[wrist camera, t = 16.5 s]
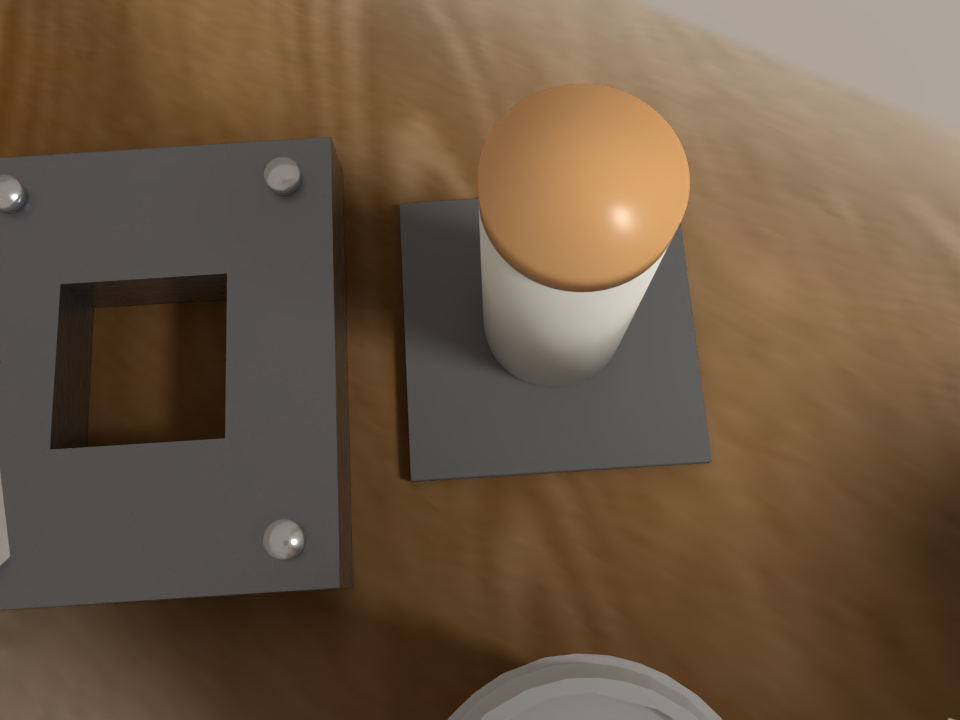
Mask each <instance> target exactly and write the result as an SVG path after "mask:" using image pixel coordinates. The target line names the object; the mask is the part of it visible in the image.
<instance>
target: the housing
mask: <svg viewBox="0 0 960 720" xmlns="http://www.w3.org/2000/svg"><path fill="white" fill-rule="evenodd" d="M225 299H227V328H226V405H225V438H223V439H207V440H192V441H176V442H160V443H145V444H129V445H114V446H98V447H87V428H88V409H89V391H90V372H91V354H92V335H93V317H94V308H100V307H116V306H132V305H147V304H163V303H179V302H194V301H210V300H225ZM0 474H1V483H2V491H3V500H4V508H5V517H6V525H7V534H8V542H9V551H10V557H9V558H8V559H7V560H6V561H5V562H4V563H3V564H2V565H1V566H0V611H2V610H18V609H34V608H49V607H65V606H80V605H96V604H112V603H127V602H143V601H158V600H174V599H190V598H205V597H221V596H236V595H252V594H268V593H283V592H299V591H314V590H330V589H346V588H353V576H352V534H351V492H350V450H349V408H348V366H347V324H346V282H345V240H344V198H343V170H342V167H341V164H340V161H339V159H338V156H337V153H336V150H335V148H334V145H333V142H332V139H331V137H322V138H306V139H291V140H275V141H259V142H244V143H228V144H212V145H197V146H181V147H165V148H150V149H134V150H118V151H103V152H87V153H71V154H56V155H40V156H24V157H9V158H0Z"/></svg>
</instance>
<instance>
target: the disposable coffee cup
mask: <svg viewBox="0 0 960 720" xmlns="http://www.w3.org/2000/svg"><path fill="white" fill-rule="evenodd" d="M448 720H722V719H721V717H719V716H718V715H717V714H716V713H715V712H714V711H713V710H712V709H711V708H710V707H709V706H708V705H707V704H706V703H705V702H704V701H703V700H702V699H701V698H700V697H699V696H698V695H696V694H695V693H693V692H692V691H690V690H689V689H687V688H686V687H684V686H683V685H681V684H680V683H678V682H677V681H675V680H673V679H672V678H670V677H669V676H667V675H666V674H664V673H661V672H659V671H657V670H654V669H652V668H650V667H647V666H645V665H643V664H640V663H637V662H634V661H630V660H626V659H622V658H618V657H614V656H609V655H596V654H570V655H562V656H553V657H545V658H542V659H539V660H536V661H534V662H531V663H529V664H526V665H523V666H521V667H518V668H516V669H513V670H511V671H508V672H505V673H503V674H501V675H500V676H498V677H497V678H495V679H494V680H492V681H491V682H489V683H488V684H486V685H485V686H483V687H482V688H481V689H479V690H478V691H476V692H475V693H474V694H472V695H471V696H470V697H469V698H468V699H467V700H466V701H465V702H464V703H463V704H462V705H461V706H460V707H459V708H458V709H457V710H456V711H455V712H454V713H453V714H452V715H451V716H450V717H449V718H448Z"/></svg>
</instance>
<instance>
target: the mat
mask: <svg viewBox="0 0 960 720" xmlns="http://www.w3.org/2000/svg"><path fill="white" fill-rule="evenodd" d="M400 228H401V252H402V276H403V300H404V324H405V348H406V372H407V396H408V420H409V444H410V468H411V481H412V482H419V481H435V480H450V479H466V478H482V477H497V476H513V475H528V474H544V473H560V472H575V471H591V470H607V469H622V468H638V467H653V466H669V465H685V464H700V463H709V462H711V453H710V445H709V438H708V430H707V422H706V415H705V407H704V399H703V392H702V384H701V376H700V369H699V361H698V353H697V346H696V338H695V330H694V323H693V315H692V307H691V300H690V292H689V284H688V277H687V269H686V261H685V254H684V246H683V238H682V231H681V223H680V224H679V226H678V228H677V230H676V232H675V234H674V236H673V238H672V240H671V242H670V244H669V246H668V248H667V250H666V252H665V254H664V256H663V258H662V260H661V262H660V264H659V266H658V268H657V270H656V272H655V274H654V276H653V278H652V280H651V282H650V284H649V286H648V288H647V290H646V292H645V294H644V296H643V298H642V300H641V302H640V304H639V306H638V308H637V310H636V312H635V314H634V316H633V318H632V320H631V322H630V324H629V326H628V328H627V330H626V332H625V334H624V336H623V338H622V340H621V342H620V344H619V346H618V348H617V350H616V352H615V354H614V355H613V357H612V358H611V360H610V361H609V363H608V364H607V365H606V366H605V367H604V368H603V369H602V370H601V371H600V372H598V373H597V374H596V375H595V376H593V377H591V378H590V379H588V380H586V381H584V382H581V383H579V384H576V385H572V386H568V387H562V388H547V387H540V386H536V385H532V384H529V383H527V382H524V381H522V380H520V379H518V378H516V377H515V376H514V375H512V374H511V373H509V372H508V371H507V370H506V369H505V368H504V367H503V366H502V365H501V364H500V363H499V362H498V361H497V359H496V358H495V356H494V355H493V353H492V352H491V350H490V347H489V345H488V343H487V340H486V337H485V332H484V323H483V299H482V275H481V251H480V226H479V202H478V199H465V200H449V201H434V202H418V203H403V204H400Z"/></svg>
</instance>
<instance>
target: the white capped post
mask: <svg viewBox="0 0 960 720" xmlns="http://www.w3.org/2000/svg"><path fill="white" fill-rule="evenodd" d="M689 190H690V176H689V167H688V163H687V159H686V155H685V152H684V150H683V147H682V145H681V143H680V141H679V139H678V137H677V136H676V134H675V132H674V131H673V129H672V128H671V127H670V125H669V124H668V123H667V122H666V121H665V120H664V119H663V117H662V116H661V115H660V114H659V113H658V112H656V111H655V110H654V109H653V108H651V107H650V106H649V105H648V104H646V103H644V102H643V101H641V100H640V99H638V98H636V97H634V96H632V95H630V94H628V93H626V92H623V91H620V90H617V89H614V88H611V87H606V86H601V85H593V84H569V85H562V86H556V87H553V88H549V89H545V90H543V91H540V92H538V93H535V94H533V95H531V96H529V97H527V98H526V99H524V100H522V101H521V102H519V103H518V104H516V105H515V106H514V107H512V108H511V109H510V110H509V111H508V112H507V113H506V114H505V115H504V116H503V117H502V118H501V119H500V120H499V121H498V123H497V124H496V125H495V126H494V128H493V129H492V131H491V133H490V134H489V136H488V138H487V140H486V142H485V144H484V147H483V149H482V153H481V156H480V160H479V166H478V202H479V226H480V251H481V275H482V299H483V323H484V332H485V337H486V340H487V343H488V345H489V347H490V350H491V352H492V353H493V355H494V356H495V358H496V359H497V361H498V362H499V363H500V364H501V365H502V366H503V367H504V368H505V369H506V370H507V371H508V372H509V373H511V374H512V375H514V376H515V377H516V378H518V379H520V380H522V381H524V382H527V383H529V384H532V385H536V386H540V387H547V388H562V387H568V386H572V385H576V384H579V383H581V382H584V381H586V380H588V379H590V378H591V377H593V376H595V375H596V374H597V373H598V372H600V371H601V370H602V369H603V368H604V367H605V366H606V365H607V364H608V363H609V361H610V360H611V358H612V357H613V355H614V354H615V352H616V350H617V348H618V346H619V344H620V342H621V340H622V338H623V336H624V334H625V332H626V330H627V328H628V326H629V324H630V322H631V320H632V318H633V316H634V314H635V312H636V310H637V308H638V306H639V304H640V302H641V300H642V298H643V296H644V294H645V292H646V290H647V288H648V286H649V284H650V282H651V280H652V278H653V276H654V274H655V272H656V270H657V268H658V266H659V264H660V262H661V260H662V258H663V256H664V254H665V252H666V250H667V248H668V246H669V244H670V242H671V240H672V238H673V236H674V234H675V232H676V230H677V228H678V226H679V224H680V222H681V220H682V218H683V215H684V213H685V210H686V207H687V203H688V198H689Z"/></svg>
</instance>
